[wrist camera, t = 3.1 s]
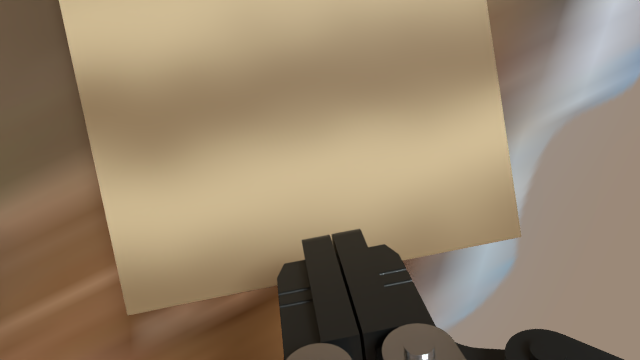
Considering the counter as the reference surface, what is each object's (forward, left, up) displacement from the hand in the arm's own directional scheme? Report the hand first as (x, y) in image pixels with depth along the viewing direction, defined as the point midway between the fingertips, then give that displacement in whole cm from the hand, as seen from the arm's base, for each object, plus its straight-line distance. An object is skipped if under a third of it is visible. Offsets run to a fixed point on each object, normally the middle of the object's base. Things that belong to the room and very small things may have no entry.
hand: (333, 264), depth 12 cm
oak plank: (-2, 0, -9) cm, 9 cm away
